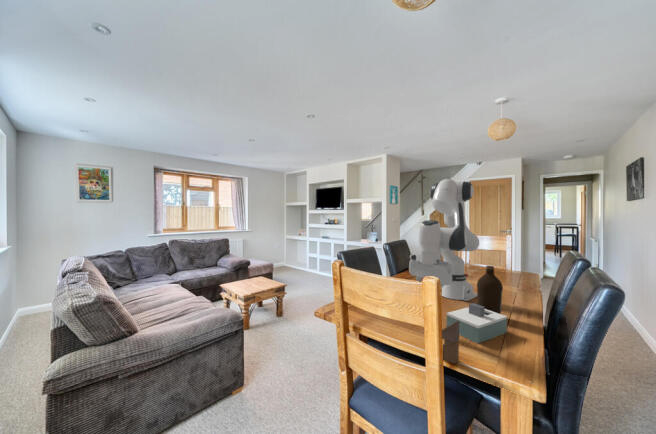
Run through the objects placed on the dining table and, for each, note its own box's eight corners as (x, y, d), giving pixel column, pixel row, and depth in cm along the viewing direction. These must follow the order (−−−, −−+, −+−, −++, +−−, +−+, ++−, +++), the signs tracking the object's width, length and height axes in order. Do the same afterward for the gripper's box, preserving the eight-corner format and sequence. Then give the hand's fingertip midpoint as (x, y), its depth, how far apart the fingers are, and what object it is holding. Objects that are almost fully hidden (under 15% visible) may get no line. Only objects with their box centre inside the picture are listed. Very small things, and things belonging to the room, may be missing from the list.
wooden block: (453, 364, 85) (454, 311, 85) (424, 350, 93) (425, 302, 93) (459, 360, 87) (460, 309, 87) (429, 347, 96) (430, 300, 95)
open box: (474, 320, 120) (474, 307, 120) (506, 332, 108) (506, 318, 108) (446, 328, 111) (446, 315, 111) (478, 343, 99) (478, 328, 99)
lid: (474, 307, 120) (475, 297, 120) (506, 318, 108) (507, 307, 108) (446, 315, 111) (447, 303, 111) (478, 328, 99) (478, 315, 99)
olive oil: (480, 320, 120) (481, 267, 120) (473, 311, 131) (474, 263, 130) (505, 322, 118) (507, 269, 117) (496, 313, 128) (498, 264, 128)
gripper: (456, 261, 102) (455, 295, 102) (416, 253, 120) (416, 282, 120) (445, 263, 99) (445, 298, 99) (406, 254, 117) (406, 284, 117)
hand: (429, 289), depth 110 cm, fingers open, 8 cm apart
